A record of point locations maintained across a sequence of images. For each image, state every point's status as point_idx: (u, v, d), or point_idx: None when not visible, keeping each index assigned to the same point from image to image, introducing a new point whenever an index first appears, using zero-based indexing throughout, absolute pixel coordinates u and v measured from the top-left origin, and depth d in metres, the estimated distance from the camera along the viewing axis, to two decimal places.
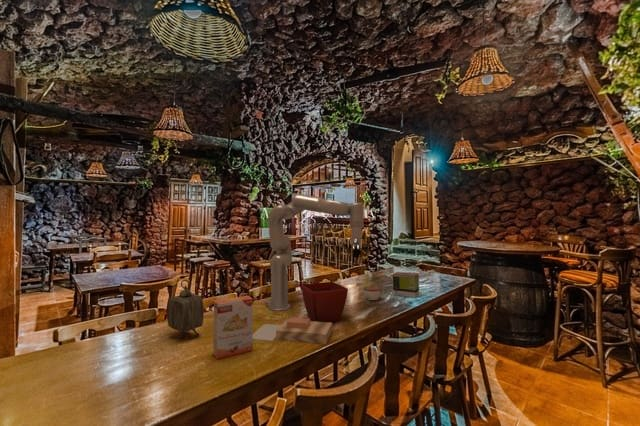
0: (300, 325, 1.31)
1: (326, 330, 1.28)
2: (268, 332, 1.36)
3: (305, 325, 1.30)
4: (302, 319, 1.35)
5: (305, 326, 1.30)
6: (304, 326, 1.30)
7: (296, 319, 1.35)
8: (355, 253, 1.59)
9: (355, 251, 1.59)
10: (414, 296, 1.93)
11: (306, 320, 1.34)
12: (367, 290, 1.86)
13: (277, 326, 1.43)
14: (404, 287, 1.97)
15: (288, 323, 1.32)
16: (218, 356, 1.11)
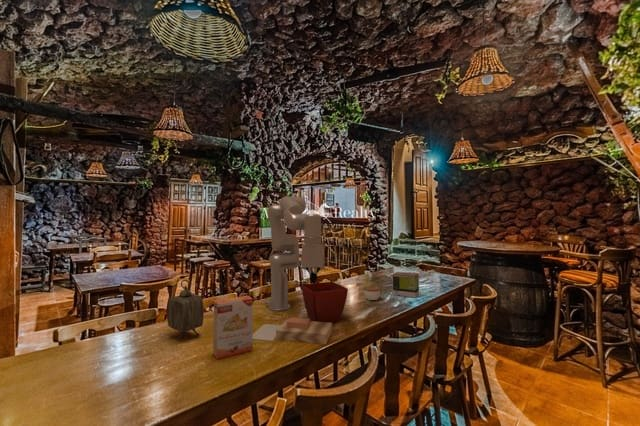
0: (300, 325, 1.31)
1: (326, 330, 1.28)
2: (268, 332, 1.36)
3: (305, 325, 1.30)
4: (302, 319, 1.35)
5: (305, 326, 1.30)
6: (304, 326, 1.30)
7: (296, 319, 1.35)
8: (316, 277, 1.33)
9: (316, 275, 1.33)
10: (414, 296, 1.93)
11: (306, 320, 1.34)
12: (367, 290, 1.86)
13: (277, 326, 1.43)
14: (404, 287, 1.97)
15: (288, 323, 1.32)
16: (218, 356, 1.11)
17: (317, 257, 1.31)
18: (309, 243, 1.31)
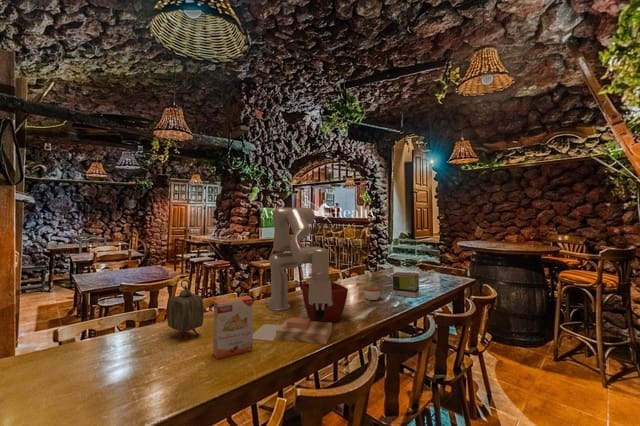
0: (300, 325, 1.31)
1: (326, 330, 1.28)
2: (268, 332, 1.36)
3: (305, 325, 1.30)
4: (302, 319, 1.35)
5: (305, 326, 1.30)
6: (304, 326, 1.30)
7: (296, 319, 1.35)
8: (323, 313, 1.31)
9: (323, 311, 1.31)
10: (414, 296, 1.93)
11: (306, 320, 1.34)
12: (367, 290, 1.86)
13: (277, 326, 1.43)
14: (404, 287, 1.97)
15: (288, 323, 1.32)
16: (218, 356, 1.11)
17: (325, 293, 1.29)
18: (317, 279, 1.28)
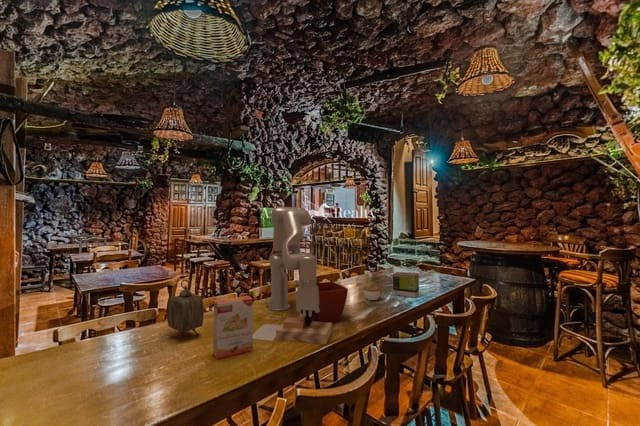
0: (296, 325, 1.31)
1: (326, 330, 1.28)
2: (268, 332, 1.36)
3: (301, 325, 1.30)
4: (298, 319, 1.35)
5: (301, 326, 1.30)
6: (300, 325, 1.30)
7: (292, 319, 1.35)
8: (311, 320, 1.32)
9: (311, 317, 1.32)
10: (414, 296, 1.93)
11: (302, 320, 1.34)
12: (367, 290, 1.86)
13: (277, 326, 1.43)
14: (404, 287, 1.97)
15: (284, 323, 1.32)
16: (218, 356, 1.11)
17: (312, 300, 1.30)
18: (304, 286, 1.30)
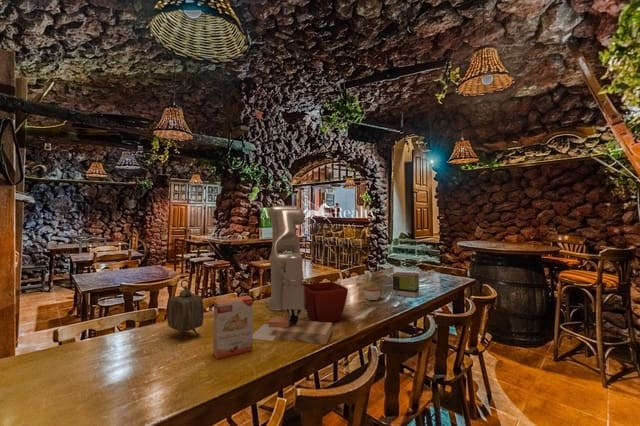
0: (282, 324, 1.32)
1: (326, 330, 1.28)
2: (268, 332, 1.36)
3: (287, 323, 1.31)
4: (284, 318, 1.36)
5: (287, 324, 1.31)
6: (286, 324, 1.32)
7: (278, 318, 1.36)
8: (297, 319, 1.34)
9: (297, 316, 1.34)
10: (414, 296, 1.93)
11: (288, 319, 1.35)
12: (367, 290, 1.86)
13: None
14: (404, 287, 1.97)
15: (270, 323, 1.33)
16: (218, 356, 1.11)
17: (298, 300, 1.31)
18: (290, 286, 1.31)
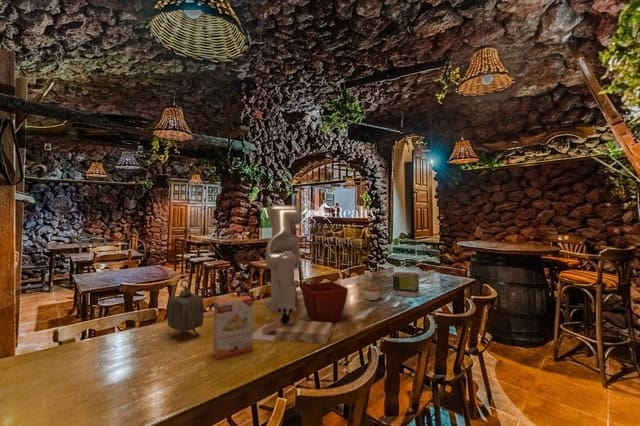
0: (274, 326, 1.32)
1: (326, 330, 1.28)
2: None
3: (278, 323, 1.32)
4: (276, 320, 1.37)
5: (279, 324, 1.32)
6: (278, 324, 1.32)
7: (271, 323, 1.37)
8: (288, 318, 1.35)
9: (288, 316, 1.35)
10: (414, 296, 1.93)
11: (279, 319, 1.35)
12: (367, 290, 1.86)
13: None
14: (404, 287, 1.97)
15: (263, 330, 1.33)
16: (218, 356, 1.11)
17: (289, 299, 1.32)
18: (281, 285, 1.32)
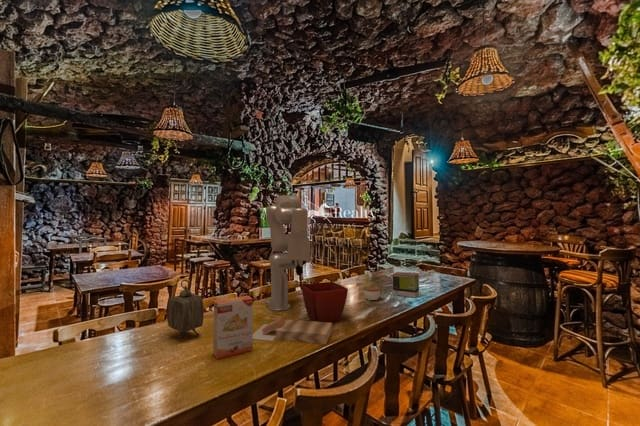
0: (274, 326, 1.32)
1: (326, 330, 1.28)
2: None
3: (278, 323, 1.32)
4: (276, 320, 1.37)
5: (279, 324, 1.32)
6: (278, 324, 1.32)
7: (271, 323, 1.37)
8: (302, 270, 1.37)
9: (302, 268, 1.37)
10: (414, 296, 1.93)
11: (279, 319, 1.35)
12: (367, 290, 1.86)
13: None
14: (404, 287, 1.97)
15: (263, 330, 1.33)
16: (218, 356, 1.11)
17: (303, 251, 1.34)
18: (295, 237, 1.34)
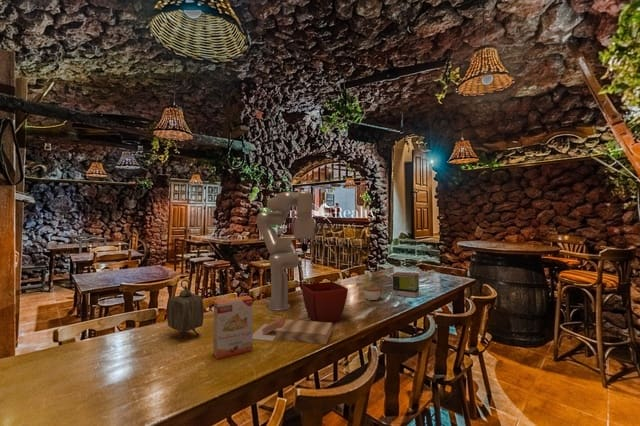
0: (274, 326, 1.32)
1: (326, 330, 1.28)
2: None
3: (278, 323, 1.32)
4: (276, 320, 1.37)
5: (279, 324, 1.32)
6: (278, 324, 1.32)
7: (271, 323, 1.37)
8: (307, 247, 1.52)
9: (307, 245, 1.52)
10: (414, 296, 1.93)
11: (279, 319, 1.35)
12: (367, 290, 1.86)
13: None
14: (404, 287, 1.97)
15: (263, 330, 1.33)
16: (218, 356, 1.11)
17: (308, 229, 1.49)
18: (301, 217, 1.49)
